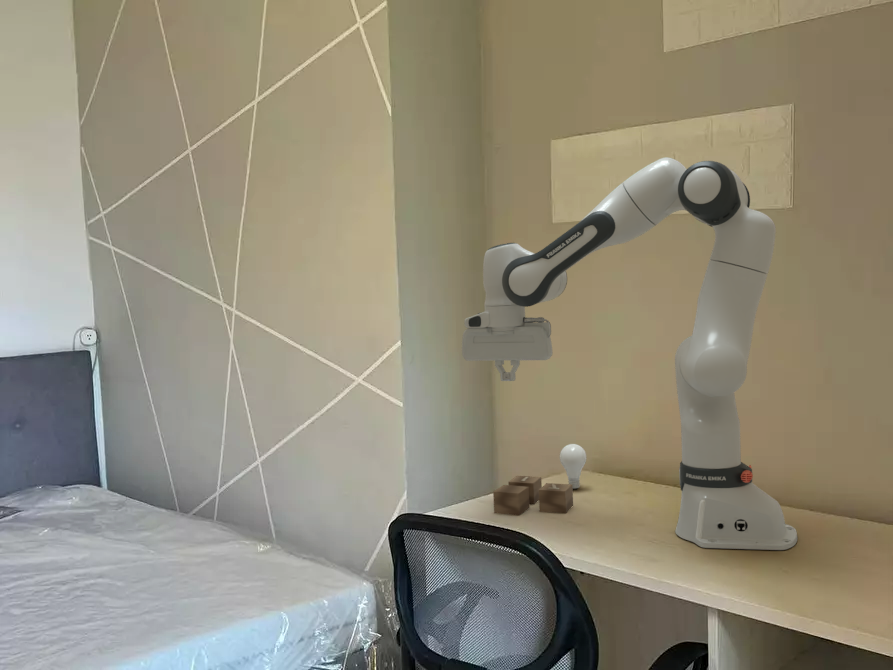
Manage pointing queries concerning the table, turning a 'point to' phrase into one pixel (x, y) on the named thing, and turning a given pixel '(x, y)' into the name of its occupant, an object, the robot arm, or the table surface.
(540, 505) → the numbered block 7
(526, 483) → the numbered block 1
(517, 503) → the plain block
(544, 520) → the table surface
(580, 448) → the lightbulb
